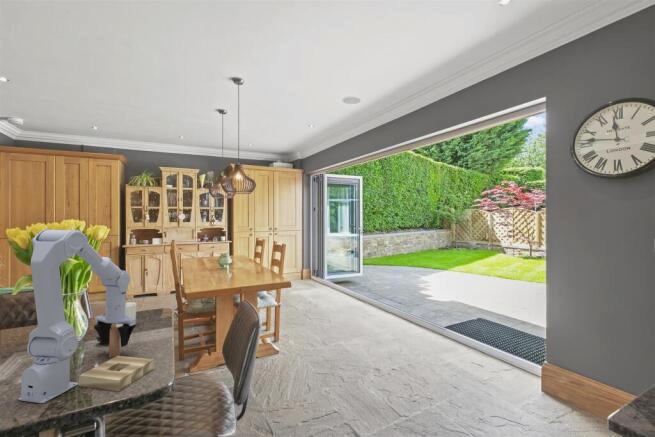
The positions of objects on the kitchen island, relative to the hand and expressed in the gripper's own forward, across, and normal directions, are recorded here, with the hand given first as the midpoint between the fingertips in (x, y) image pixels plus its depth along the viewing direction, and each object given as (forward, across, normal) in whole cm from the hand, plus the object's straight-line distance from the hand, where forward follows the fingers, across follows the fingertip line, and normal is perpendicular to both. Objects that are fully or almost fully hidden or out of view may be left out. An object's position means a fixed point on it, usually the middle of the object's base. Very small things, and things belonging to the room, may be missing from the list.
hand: (114, 344), depth 107 cm
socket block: (+4, -13, +12) cm, 18 cm away
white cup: (+4, +19, -25) cm, 32 cm away
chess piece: (+4, +12, -8) cm, 15 cm away
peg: (+4, 0, 0) cm, 4 cm away
